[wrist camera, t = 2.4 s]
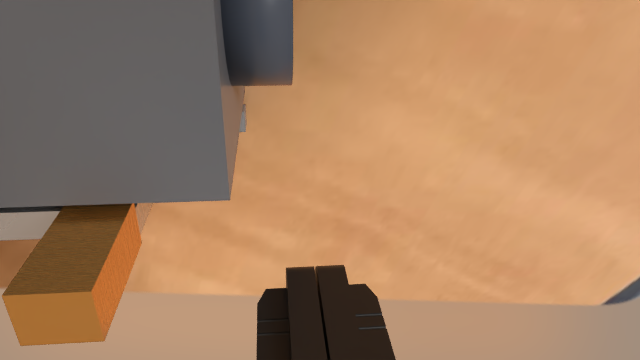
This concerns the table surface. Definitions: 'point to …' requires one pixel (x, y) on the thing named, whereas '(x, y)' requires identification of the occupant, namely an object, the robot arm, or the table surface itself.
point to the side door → (71, 269)
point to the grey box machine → (131, 96)
